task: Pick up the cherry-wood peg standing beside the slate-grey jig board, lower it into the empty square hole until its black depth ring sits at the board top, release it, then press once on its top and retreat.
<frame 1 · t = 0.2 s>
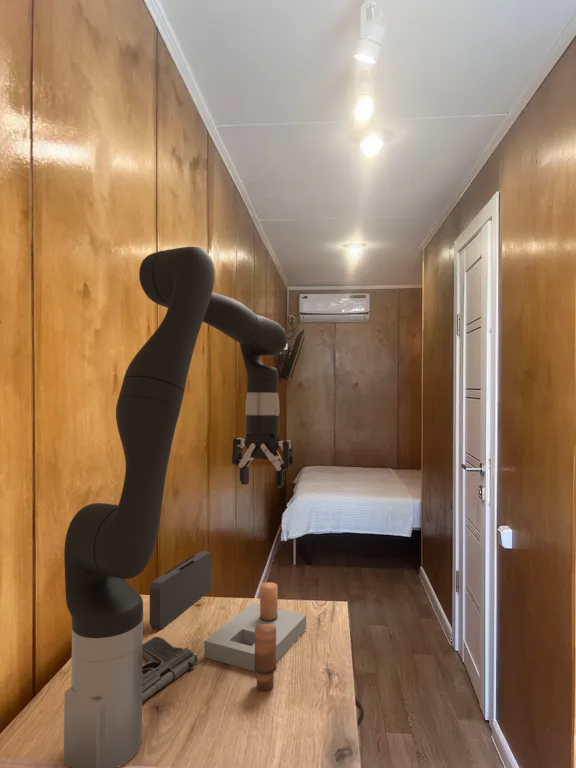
hand: (261, 485, 107), 29 cm above the worktop, tool pointing down, fingers open, 8 cm apart
handgun: (146, 679, 83), on the worktop
handheld gaming console: (182, 609, 110), on the worktop
cherry peg: (265, 686, 80), on the worktop
jig board: (258, 642, 95), on the worktop
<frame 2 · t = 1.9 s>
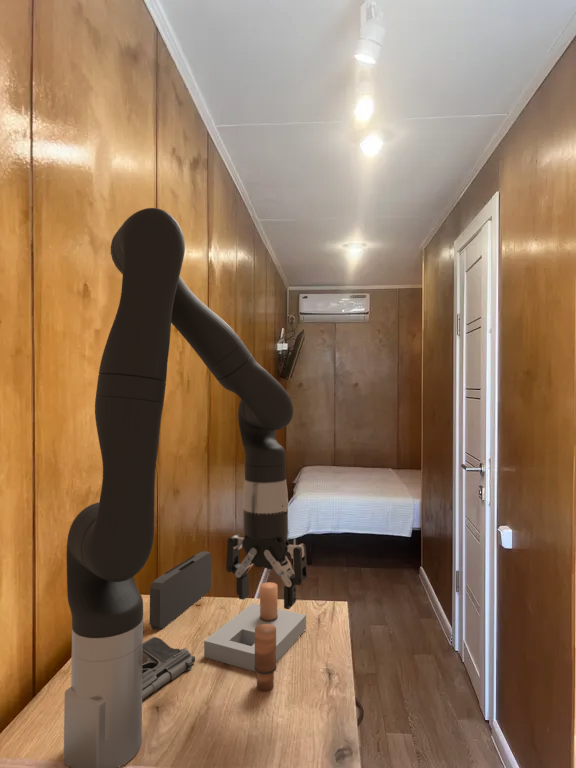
hand: (265, 602, 81), 14 cm above the worktop, tool pointing down, fingers open, 8 cm apart
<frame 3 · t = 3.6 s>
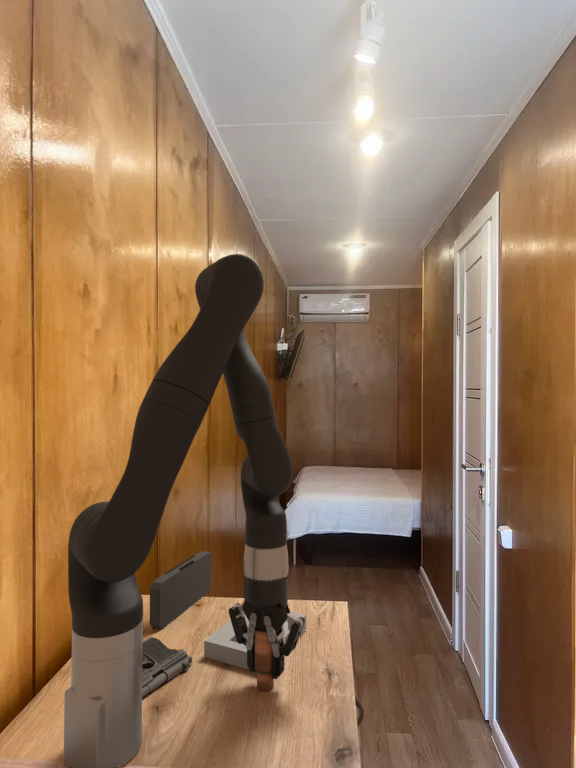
hand: (265, 672, 80), 2 cm above the worktop, tool pointing down, fingers closed on cherry peg, 3 cm apart
cherry peg: (265, 686, 80), on the worktop, touching gripper
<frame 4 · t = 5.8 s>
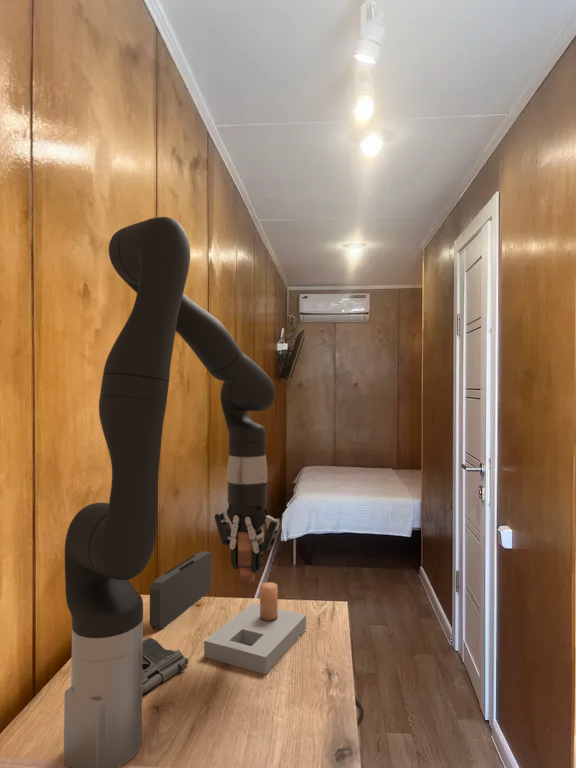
hand: (247, 569, 91), 16 cm above the worktop, tool pointing down, fingers closed on cherry peg, 3 cm apart
cherry peg: (247, 580, 91), point 14 cm above the worktop, touching gripper
when the fingers open (3 cm above the worktop, at t = 8.0 s): cherry peg drops 1 cm, resting in jig board.
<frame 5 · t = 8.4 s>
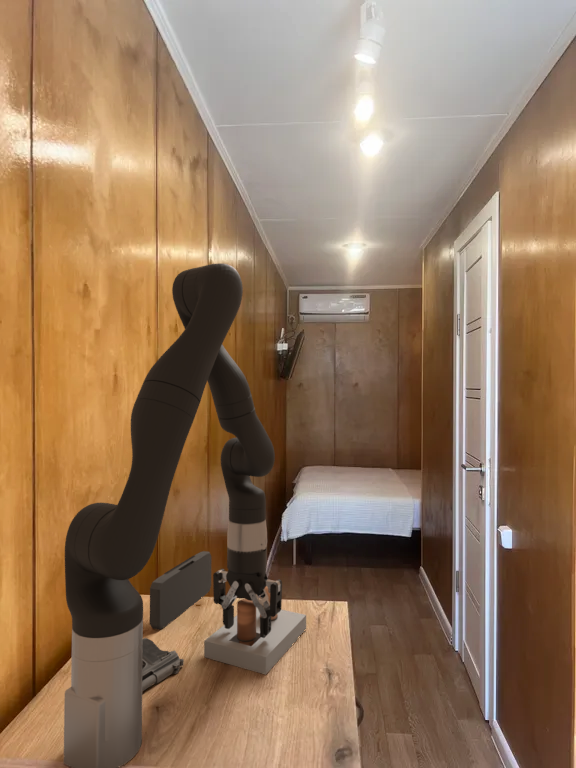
hand: (246, 631, 91), 4 cm above the worktop, tool pointing down, fingers open, 7 cm apart
cherry peg: (246, 653, 90), resting in jig board
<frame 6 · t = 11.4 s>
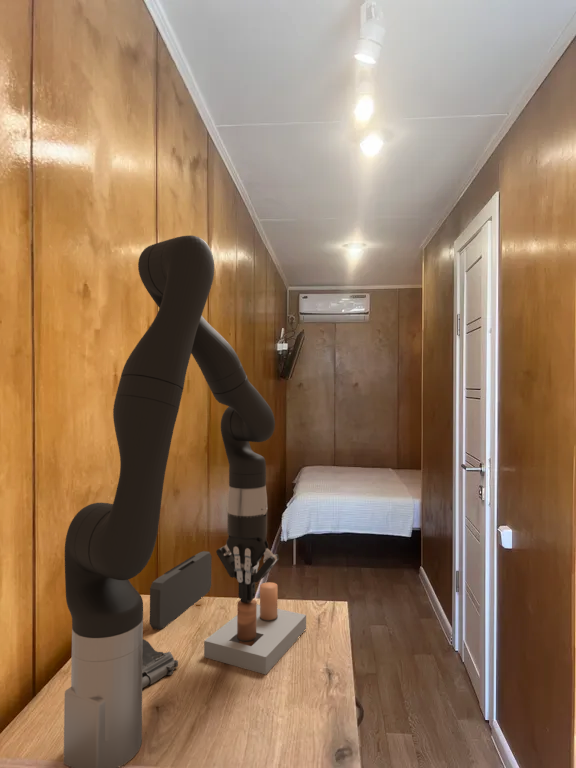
hand: (246, 601, 91), 10 cm above the worktop, tool pointing down, fingers closed
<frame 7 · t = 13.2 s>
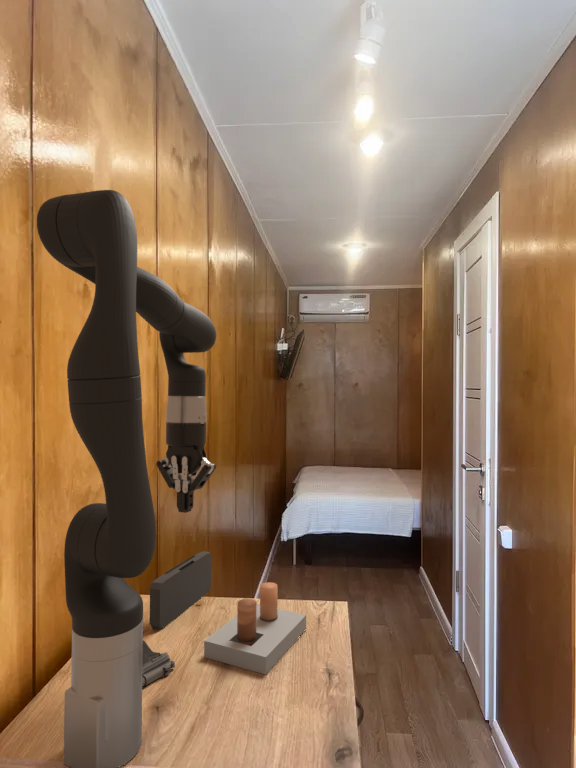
hand: (185, 511, 91), 27 cm above the worktop, tool pointing down, fingers closed
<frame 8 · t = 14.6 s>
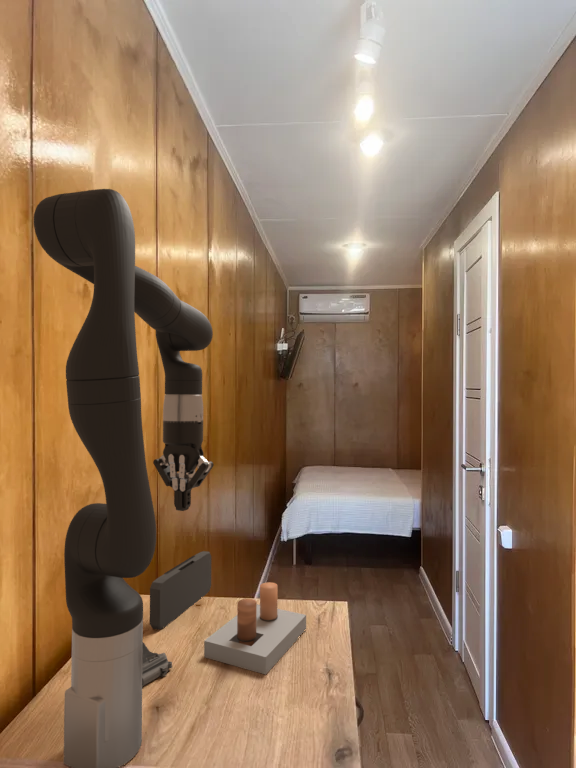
hand: (182, 509, 91), 27 cm above the worktop, tool pointing down, fingers closed
at the end: cherry peg 0.0 cm from the target spot on the jig board, point 0.0 cm above the jig board's base; cherry peg tilted 0°; the gripper is holding nothing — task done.
